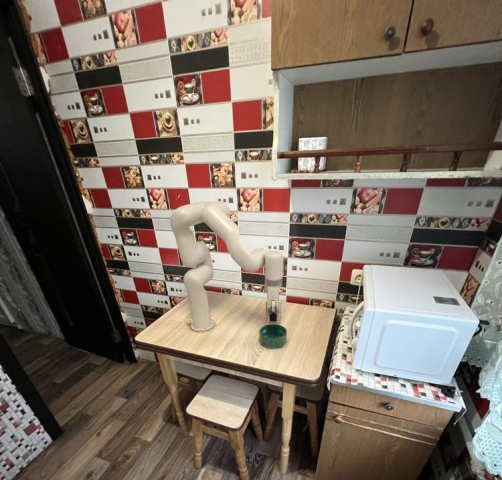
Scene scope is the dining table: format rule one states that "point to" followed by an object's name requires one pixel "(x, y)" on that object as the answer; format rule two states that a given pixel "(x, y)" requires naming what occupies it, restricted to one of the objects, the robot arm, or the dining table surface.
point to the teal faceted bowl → (273, 336)
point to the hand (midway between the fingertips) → (273, 318)
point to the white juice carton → (278, 311)
